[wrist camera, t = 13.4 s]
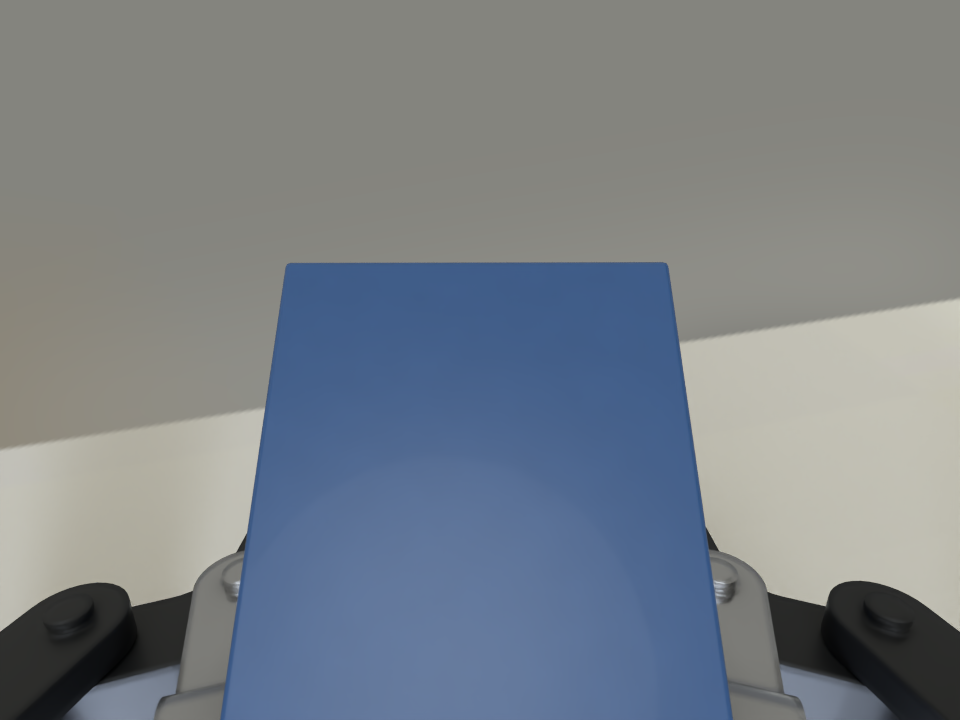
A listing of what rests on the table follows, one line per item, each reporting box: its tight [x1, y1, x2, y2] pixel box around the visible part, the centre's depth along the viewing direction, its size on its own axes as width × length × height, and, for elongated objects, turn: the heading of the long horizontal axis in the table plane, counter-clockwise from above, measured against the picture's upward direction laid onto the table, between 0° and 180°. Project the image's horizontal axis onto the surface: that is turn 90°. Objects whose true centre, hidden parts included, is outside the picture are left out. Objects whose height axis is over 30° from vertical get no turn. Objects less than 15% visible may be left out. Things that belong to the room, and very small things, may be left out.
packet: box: [220, 262, 733, 720], centre depth 11 cm, size 4×6×10 cm
